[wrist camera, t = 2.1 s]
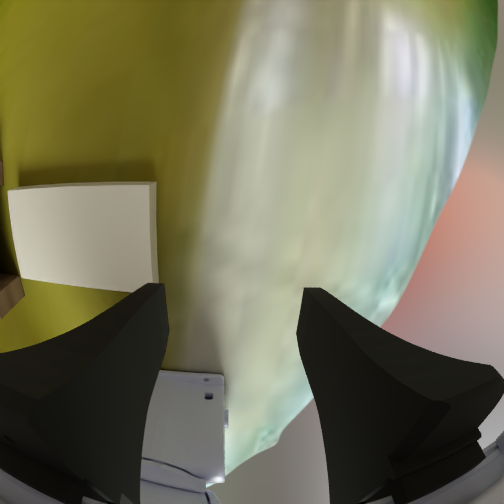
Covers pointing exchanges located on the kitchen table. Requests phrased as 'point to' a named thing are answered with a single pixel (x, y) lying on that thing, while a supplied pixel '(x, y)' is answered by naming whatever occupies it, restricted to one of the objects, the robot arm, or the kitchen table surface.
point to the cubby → (9, 282)
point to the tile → (86, 233)
